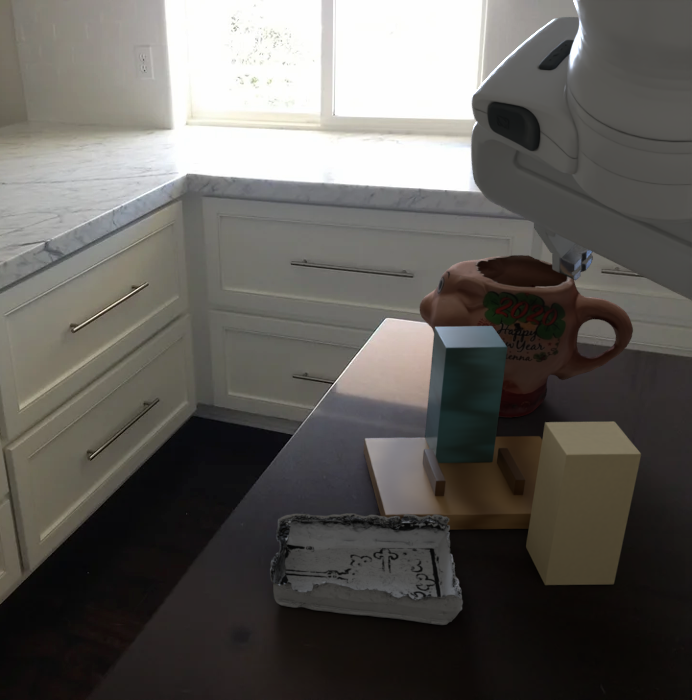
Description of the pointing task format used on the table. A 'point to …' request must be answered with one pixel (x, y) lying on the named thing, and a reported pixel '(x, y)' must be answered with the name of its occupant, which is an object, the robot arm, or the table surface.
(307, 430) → the table surface
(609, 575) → the beige rectangular block
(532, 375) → the brown sculpted mug
